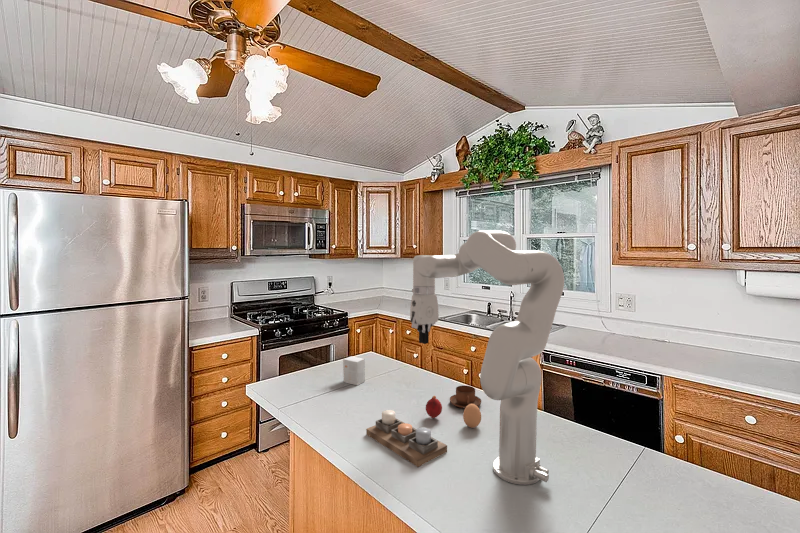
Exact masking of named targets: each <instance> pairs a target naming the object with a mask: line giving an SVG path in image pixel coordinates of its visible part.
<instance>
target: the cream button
mask: <svg viewBox="0 0 800 533" xmlns="http://www.w3.org/2000/svg"><path fill="white" fill-rule="evenodd" d="M395 418H396V412H395V411H394V410H392V409H387V410H383V411H381V419H382V423H383V424H384V425H393V424H395Z"/></svg>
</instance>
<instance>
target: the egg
mask: <svg viewBox="0 0 800 533" xmlns="http://www.w3.org/2000/svg"><path fill="white" fill-rule="evenodd" d="M462 419H463V421H464V422H463V423H464V424H465V425H466V426H467V427H469V428H472V429H473V428H477V427H478V426H479V425H480V424H481V421H482V412H481V411H480V408H479V406H476V405H475V404H469V405H467V406H466V408H464V409H463V414H462Z"/></svg>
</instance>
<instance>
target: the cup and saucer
mask: <svg viewBox="0 0 800 533" xmlns="http://www.w3.org/2000/svg"><path fill="white" fill-rule="evenodd" d="M449 403H451V404H452V405H453V406H454V407H458V408H461V409H465V408H466V406H467V405H469V404H475V405H476V406H477V407H479V406H480V405H481V404H482V399H481V398H480V397H478V396H477V395H476V388H475V387H473V386H470V385H458V386H456V387H455V394H453V395H452V396H450V397H449Z"/></svg>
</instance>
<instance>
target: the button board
mask: <svg viewBox="0 0 800 533" xmlns="http://www.w3.org/2000/svg"><path fill="white" fill-rule="evenodd" d="M403 423H405V422H404V421H402V420H400V419H398V418H396V417H395V424H393V425H384V424H383V423H382V418H379V419H377V420H375V425H371V426H370V427H368V428H365V431H366V433H365V434H366V436H367V437H369V438H371V439H372V440H373V441H375V442H377V443H379V444H380V445H382V446H383V447H385V448H387V449H388V450H390V451H391V452H392V453H395V454H397V455H398V457H399V456H400V457H401V458H403V459H404V460H406V461H407V462H409V463H410V464H412V465H414V466H415V467H417V468H419V467H422V466H423V465H425V464H427V463H428V462H431V461H432V460H434V459H436V458H438V457H440V456H442V455H444V454H446V453H448V445H447V444H446V443H443V442H442V441H440V440H437V438H434V437H432V436H431V442H430V443H429V444H427V445H420V444H418V443H416V429H417V428H415V427H413V426H412V433H410V434H408V435H406V436H403V435H402V434H400V433H398V425H400V424H403Z"/></svg>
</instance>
